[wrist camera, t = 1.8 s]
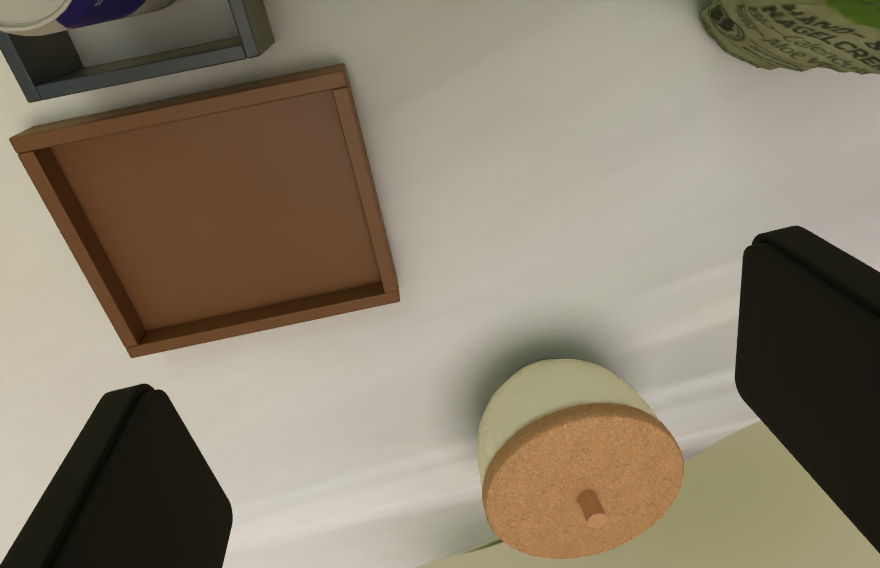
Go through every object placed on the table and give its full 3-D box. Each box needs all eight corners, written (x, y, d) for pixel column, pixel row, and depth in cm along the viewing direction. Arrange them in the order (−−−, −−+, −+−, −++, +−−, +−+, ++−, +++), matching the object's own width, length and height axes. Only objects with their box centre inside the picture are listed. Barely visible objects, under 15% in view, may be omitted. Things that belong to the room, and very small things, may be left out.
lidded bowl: (432, 431, 43) (452, 564, 34) (519, 301, 39) (571, 412, 29) (565, 474, 47) (617, 603, 38) (659, 361, 43) (745, 476, 33)
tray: (31, 126, 30) (7, 138, 28) (344, 62, 30) (343, 70, 28) (144, 336, 37) (130, 358, 34) (398, 283, 37) (400, 302, 35)
